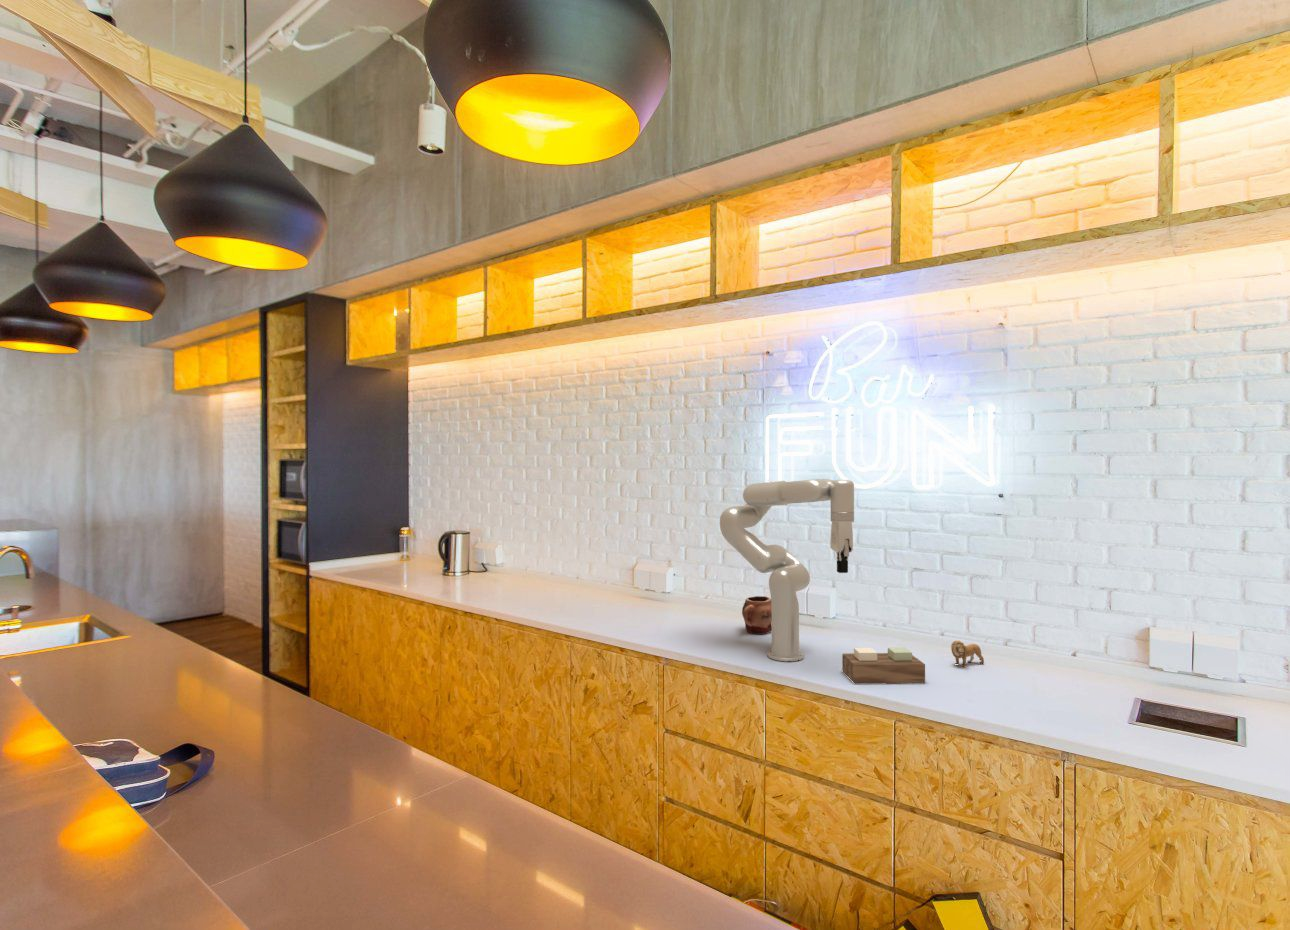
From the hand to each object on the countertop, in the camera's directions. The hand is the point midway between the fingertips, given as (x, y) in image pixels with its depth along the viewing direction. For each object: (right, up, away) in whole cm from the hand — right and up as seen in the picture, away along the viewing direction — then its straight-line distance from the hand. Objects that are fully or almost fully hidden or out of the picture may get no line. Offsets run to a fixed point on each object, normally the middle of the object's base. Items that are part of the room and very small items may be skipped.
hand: (842, 572), depth 220 cm
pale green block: (+16, -30, -9) cm, 35 cm away
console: (+10, -32, -9) cm, 35 cm away
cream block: (+5, -30, -9) cm, 32 cm away
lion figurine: (+43, -32, +3) cm, 54 cm away
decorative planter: (-20, -32, +47) cm, 60 cm away
